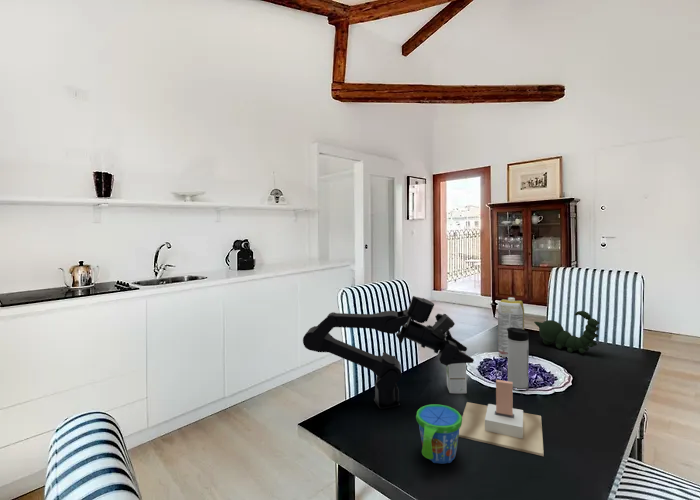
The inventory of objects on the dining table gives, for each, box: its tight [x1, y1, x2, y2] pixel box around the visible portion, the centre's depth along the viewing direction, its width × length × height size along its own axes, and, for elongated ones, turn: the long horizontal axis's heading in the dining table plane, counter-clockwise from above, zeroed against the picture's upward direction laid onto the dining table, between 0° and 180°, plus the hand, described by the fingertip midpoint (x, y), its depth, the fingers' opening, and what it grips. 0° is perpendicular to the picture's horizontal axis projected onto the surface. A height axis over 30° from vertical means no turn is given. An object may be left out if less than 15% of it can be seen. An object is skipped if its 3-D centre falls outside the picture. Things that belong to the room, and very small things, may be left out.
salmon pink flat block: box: [495, 379, 514, 416], centre depth 95 cm, size 4×1×9 cm, turn 63°
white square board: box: [485, 403, 524, 439], centre depth 96 cm, size 9×9×3 cm
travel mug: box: [507, 328, 529, 390], centre depth 118 cm, size 6×7×20 cm
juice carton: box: [497, 297, 525, 358], centre depth 144 cm, size 9×8×24 cm
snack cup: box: [415, 403, 463, 465], centre depth 85 cm, size 16×10×10 cm
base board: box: [458, 401, 545, 457], centre depth 96 cm, size 20×18×1 cm
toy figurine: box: [533, 310, 600, 354], centre depth 151 cm, size 9×19×25 cm
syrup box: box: [445, 351, 468, 394], centre depth 118 cm, size 6×6×14 cm
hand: (469, 355), depth 107 cm, fingers open, 9 cm apart
